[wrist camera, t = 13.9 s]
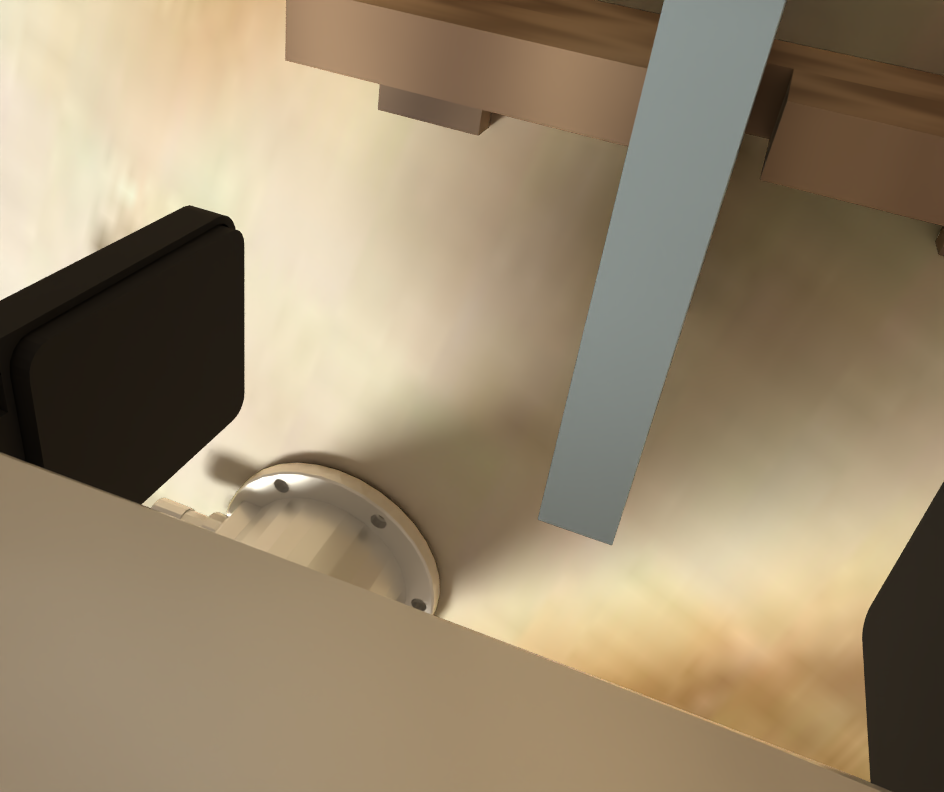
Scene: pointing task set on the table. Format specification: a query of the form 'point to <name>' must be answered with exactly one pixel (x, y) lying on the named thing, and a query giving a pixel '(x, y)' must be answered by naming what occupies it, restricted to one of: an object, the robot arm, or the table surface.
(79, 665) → the robot arm
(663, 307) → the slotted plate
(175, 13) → the table surface
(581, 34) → the slotted board
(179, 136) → the table surface
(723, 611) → the table surface
